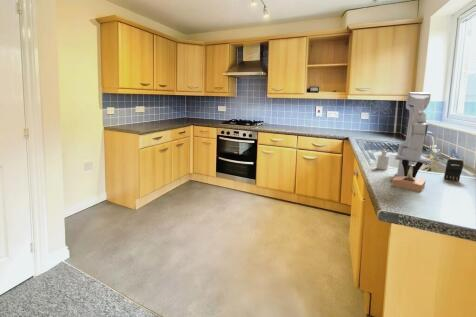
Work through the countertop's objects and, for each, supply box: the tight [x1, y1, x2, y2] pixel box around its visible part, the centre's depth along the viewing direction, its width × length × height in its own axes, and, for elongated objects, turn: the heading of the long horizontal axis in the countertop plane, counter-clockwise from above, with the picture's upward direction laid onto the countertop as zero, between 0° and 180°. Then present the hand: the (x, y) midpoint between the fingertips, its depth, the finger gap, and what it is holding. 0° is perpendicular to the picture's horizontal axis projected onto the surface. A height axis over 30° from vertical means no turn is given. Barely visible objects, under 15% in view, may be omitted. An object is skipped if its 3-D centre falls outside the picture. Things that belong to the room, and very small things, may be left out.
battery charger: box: [443, 157, 465, 182], centre depth 147 cm, size 7×4×11 cm, turn 57°
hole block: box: [391, 175, 426, 192], centre depth 136 cm, size 12×12×3 cm
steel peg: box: [406, 165, 415, 181], centre depth 134 cm, size 3×3×8 cm
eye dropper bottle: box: [375, 148, 390, 170], centre depth 164 cm, size 4×6×12 cm
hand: (409, 176), depth 135 cm, fingers closed on steel peg, 3 cm apart
